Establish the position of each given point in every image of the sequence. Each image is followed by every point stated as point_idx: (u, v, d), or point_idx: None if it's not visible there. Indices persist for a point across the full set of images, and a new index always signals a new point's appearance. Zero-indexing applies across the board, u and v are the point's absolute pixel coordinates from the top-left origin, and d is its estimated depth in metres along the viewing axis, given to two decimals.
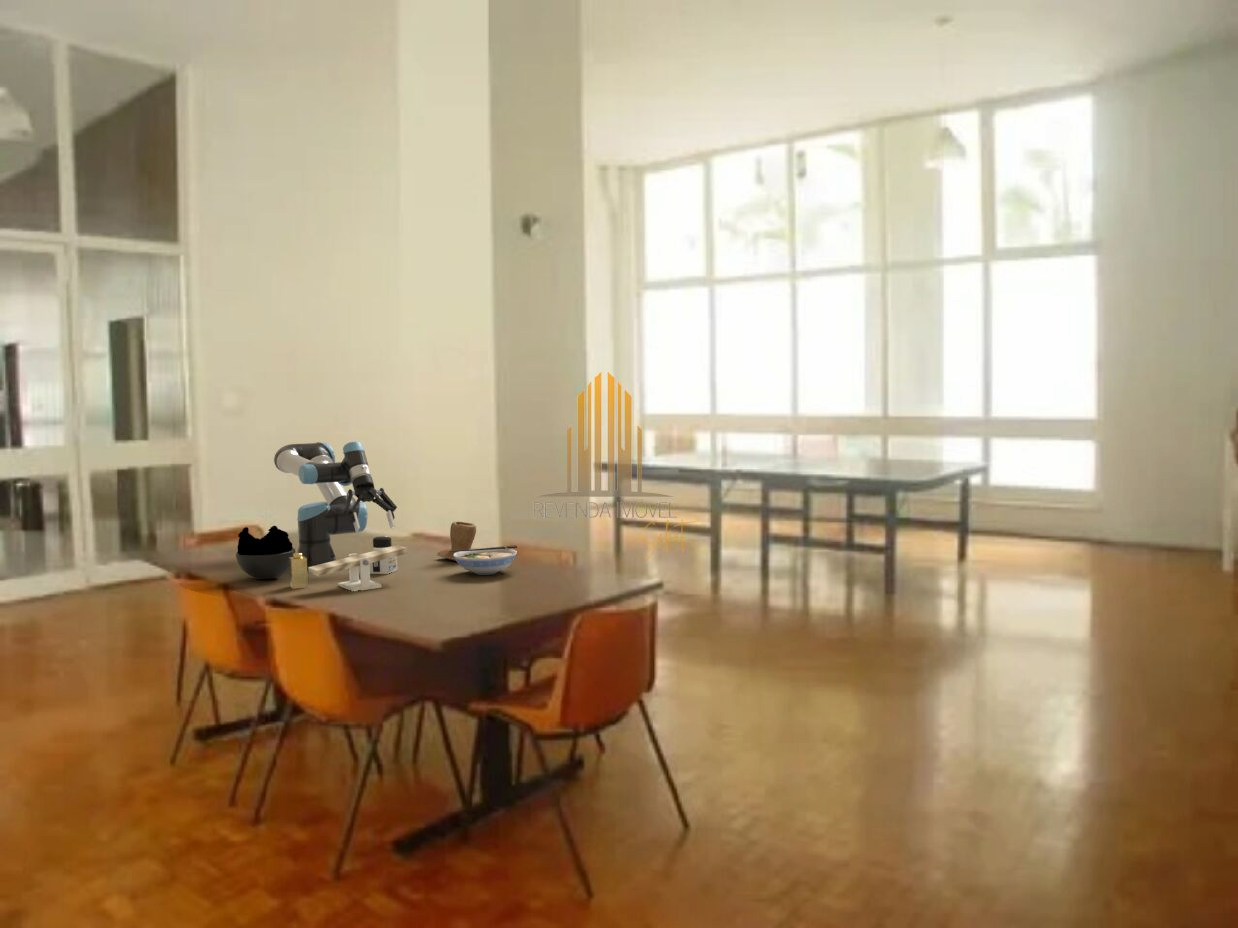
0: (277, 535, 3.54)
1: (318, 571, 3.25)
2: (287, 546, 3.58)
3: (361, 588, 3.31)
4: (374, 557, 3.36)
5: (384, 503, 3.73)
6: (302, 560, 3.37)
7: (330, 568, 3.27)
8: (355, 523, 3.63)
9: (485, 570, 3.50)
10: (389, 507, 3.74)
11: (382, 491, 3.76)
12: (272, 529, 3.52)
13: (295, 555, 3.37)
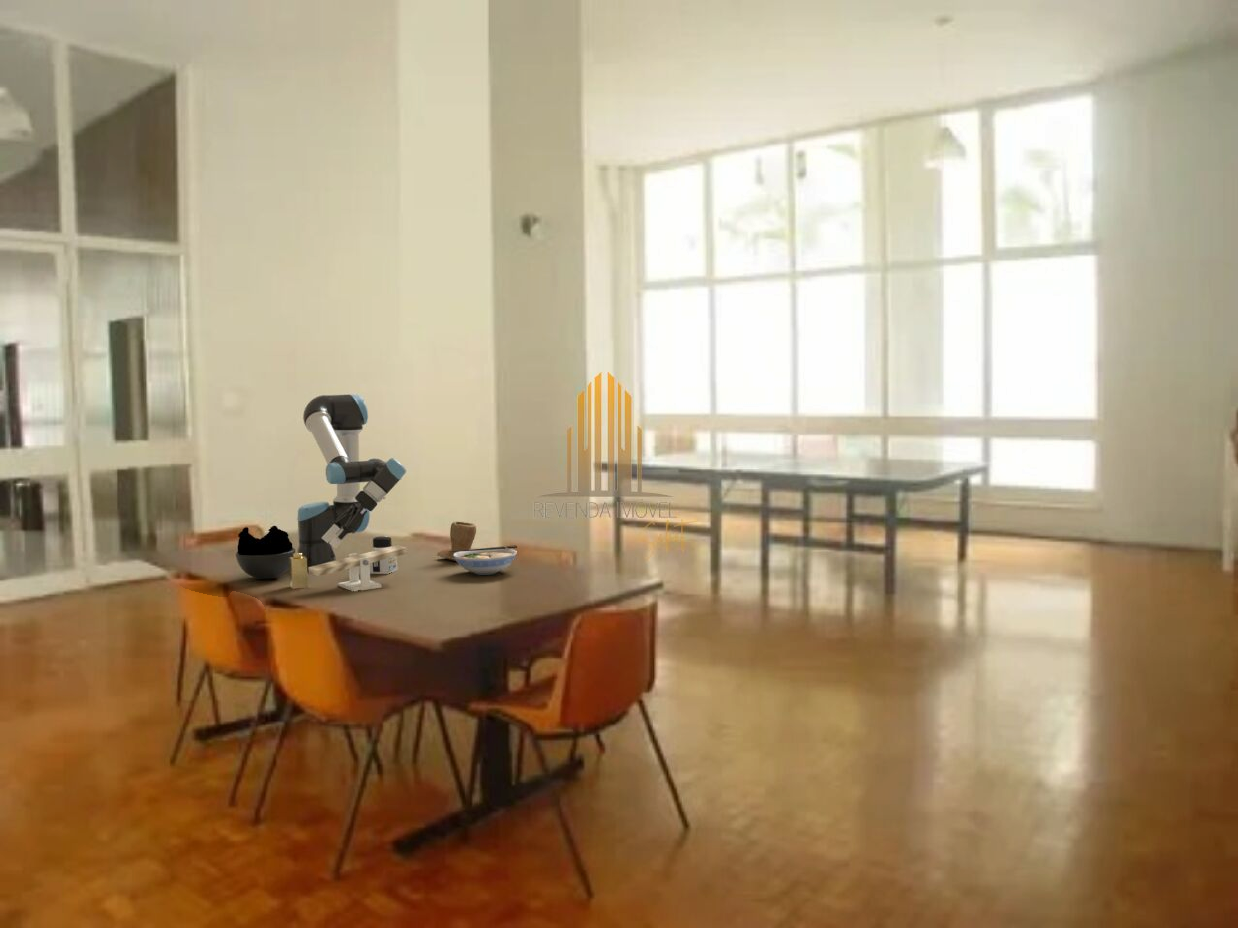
0: (277, 535, 3.54)
1: (318, 571, 3.25)
2: (287, 546, 3.58)
3: (361, 588, 3.31)
4: (374, 557, 3.36)
5: None
6: (302, 560, 3.37)
7: (330, 568, 3.27)
8: (337, 540, 3.37)
9: (485, 570, 3.50)
10: (342, 525, 3.52)
11: None
12: (272, 529, 3.52)
13: (295, 555, 3.37)
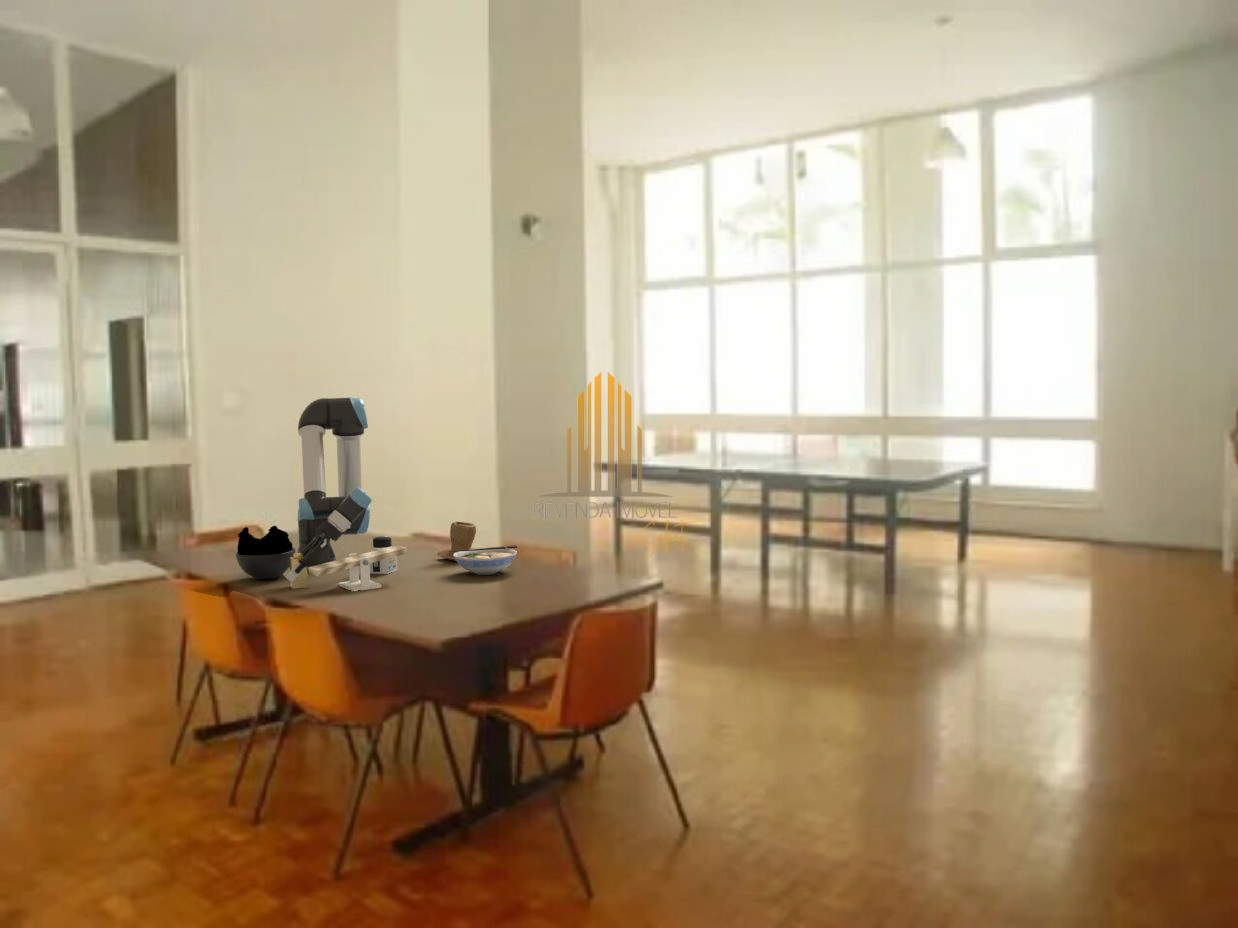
0: (277, 535, 3.54)
1: (318, 571, 3.25)
2: (287, 546, 3.58)
3: (361, 588, 3.31)
4: (374, 557, 3.36)
5: None
6: None
7: (330, 568, 3.27)
8: (294, 574, 3.36)
9: (485, 570, 3.50)
10: None
11: None
12: (272, 529, 3.52)
13: (295, 555, 3.37)
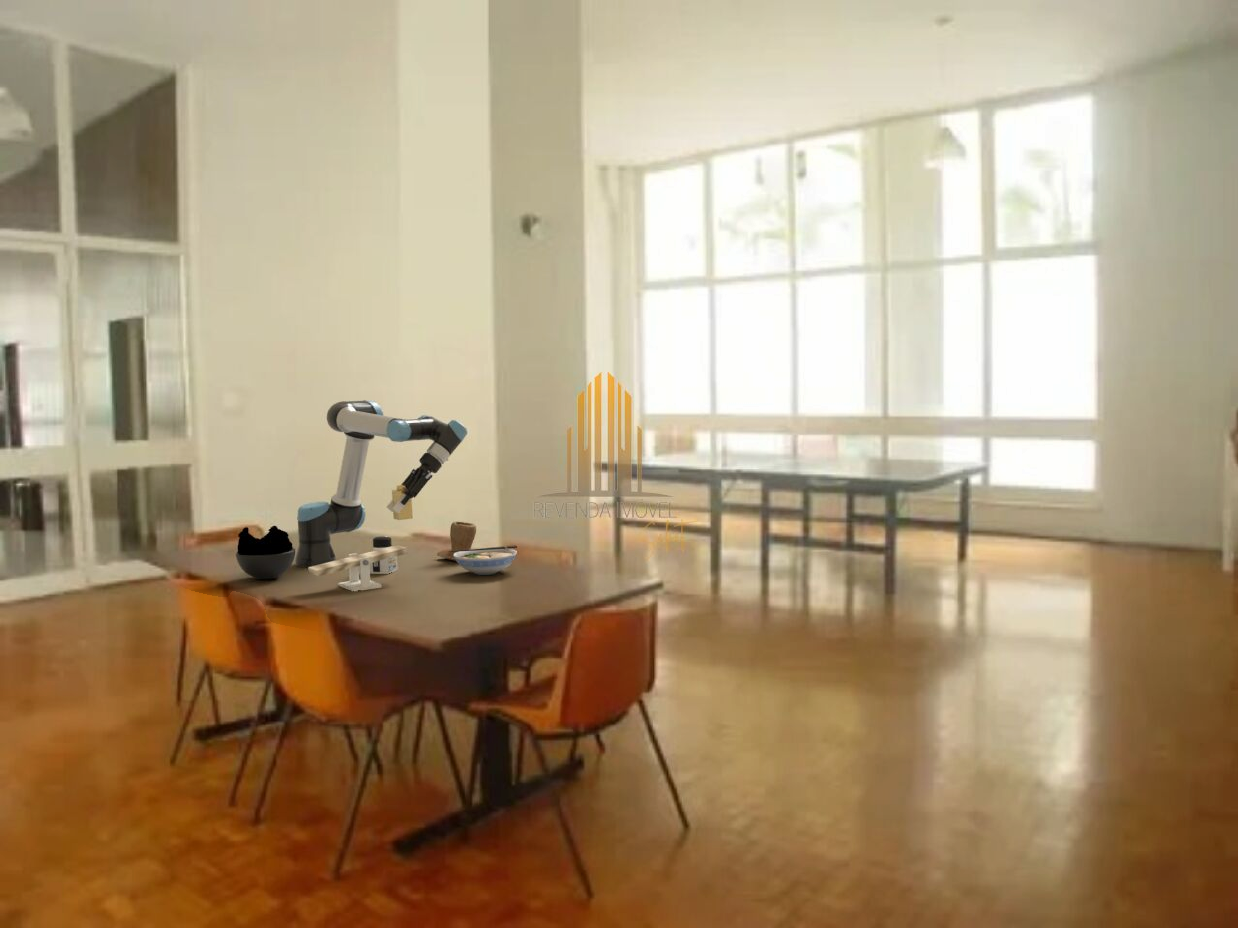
0: (277, 535, 3.54)
1: (318, 571, 3.25)
2: (287, 546, 3.58)
3: (361, 588, 3.31)
4: (374, 557, 3.36)
5: None
6: None
7: (330, 568, 3.27)
8: (400, 505, 3.41)
9: (485, 570, 3.50)
10: None
11: None
12: (272, 529, 3.52)
13: (399, 487, 3.42)
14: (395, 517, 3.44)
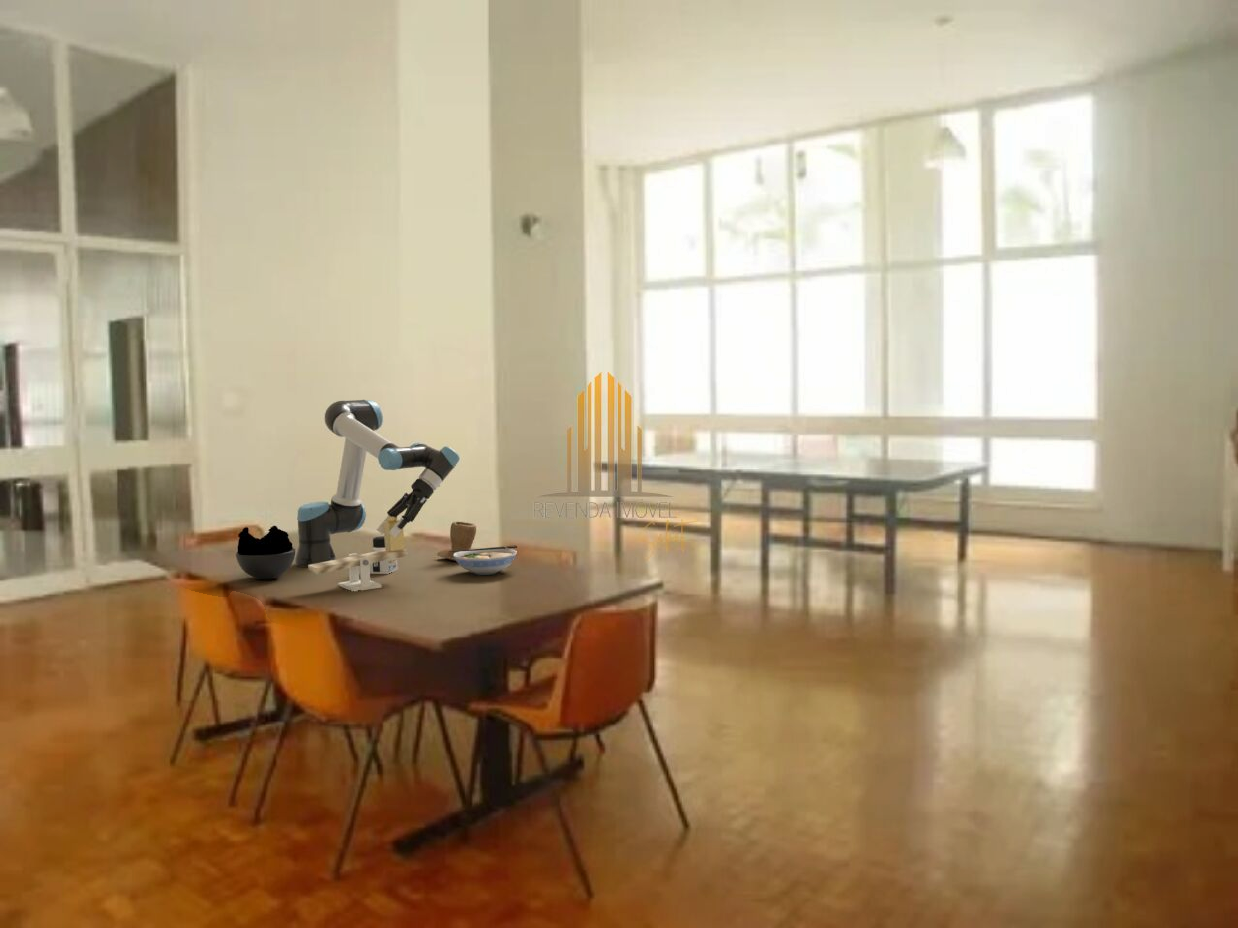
0: (277, 535, 3.54)
1: (318, 569, 3.25)
2: (287, 546, 3.58)
3: (361, 588, 3.31)
4: (374, 558, 3.36)
5: None
6: None
7: (330, 566, 3.27)
8: (397, 530, 3.39)
9: (485, 570, 3.50)
10: None
11: None
12: (272, 529, 3.52)
13: (391, 518, 3.42)
14: (387, 548, 3.44)
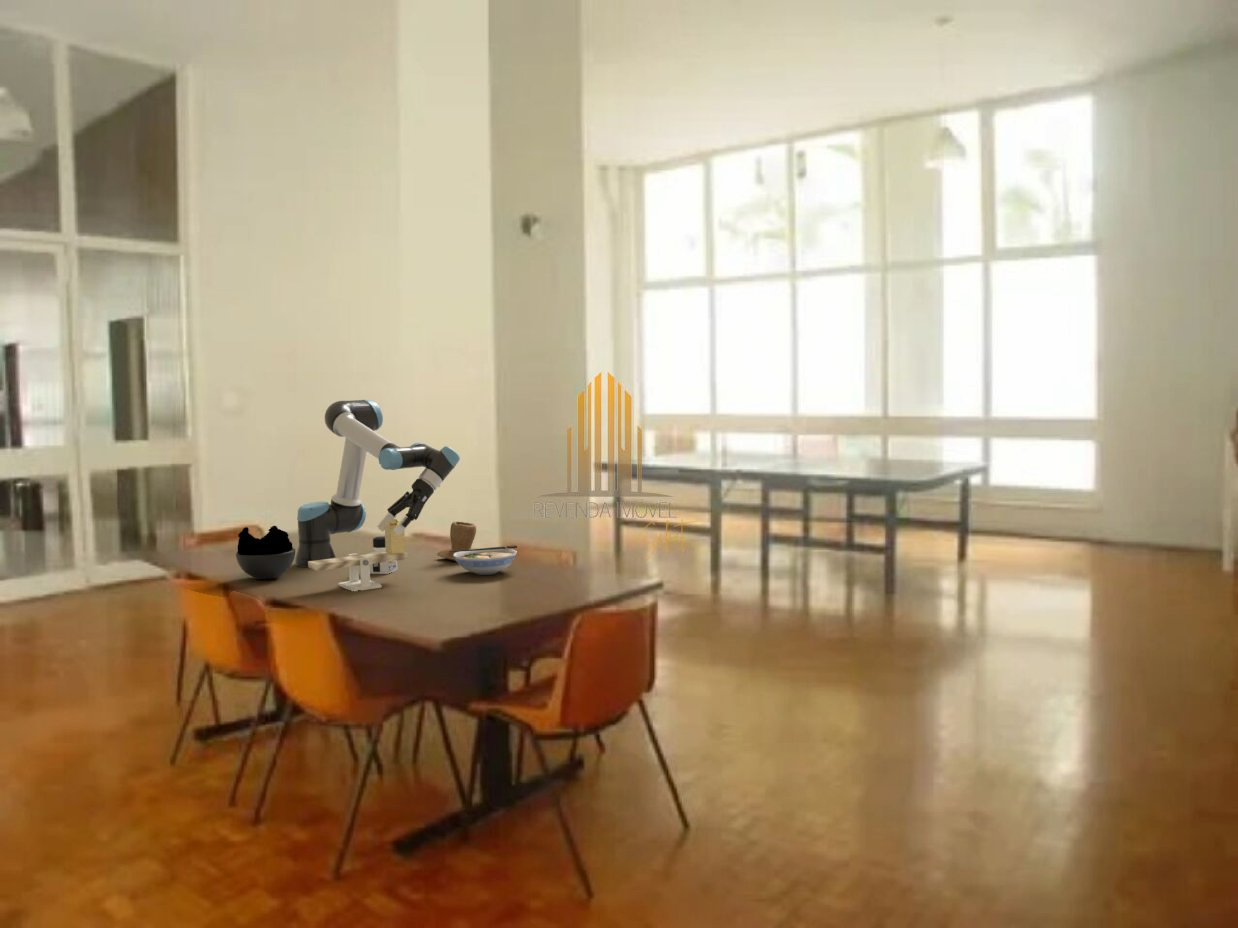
0: (277, 535, 3.54)
1: (318, 565, 3.25)
2: (287, 546, 3.58)
3: (361, 588, 3.31)
4: (374, 558, 3.36)
5: None
6: None
7: (330, 564, 3.27)
8: (401, 528, 3.38)
9: (485, 570, 3.50)
10: None
11: None
12: (272, 529, 3.52)
13: (393, 521, 3.43)
14: (387, 551, 3.44)
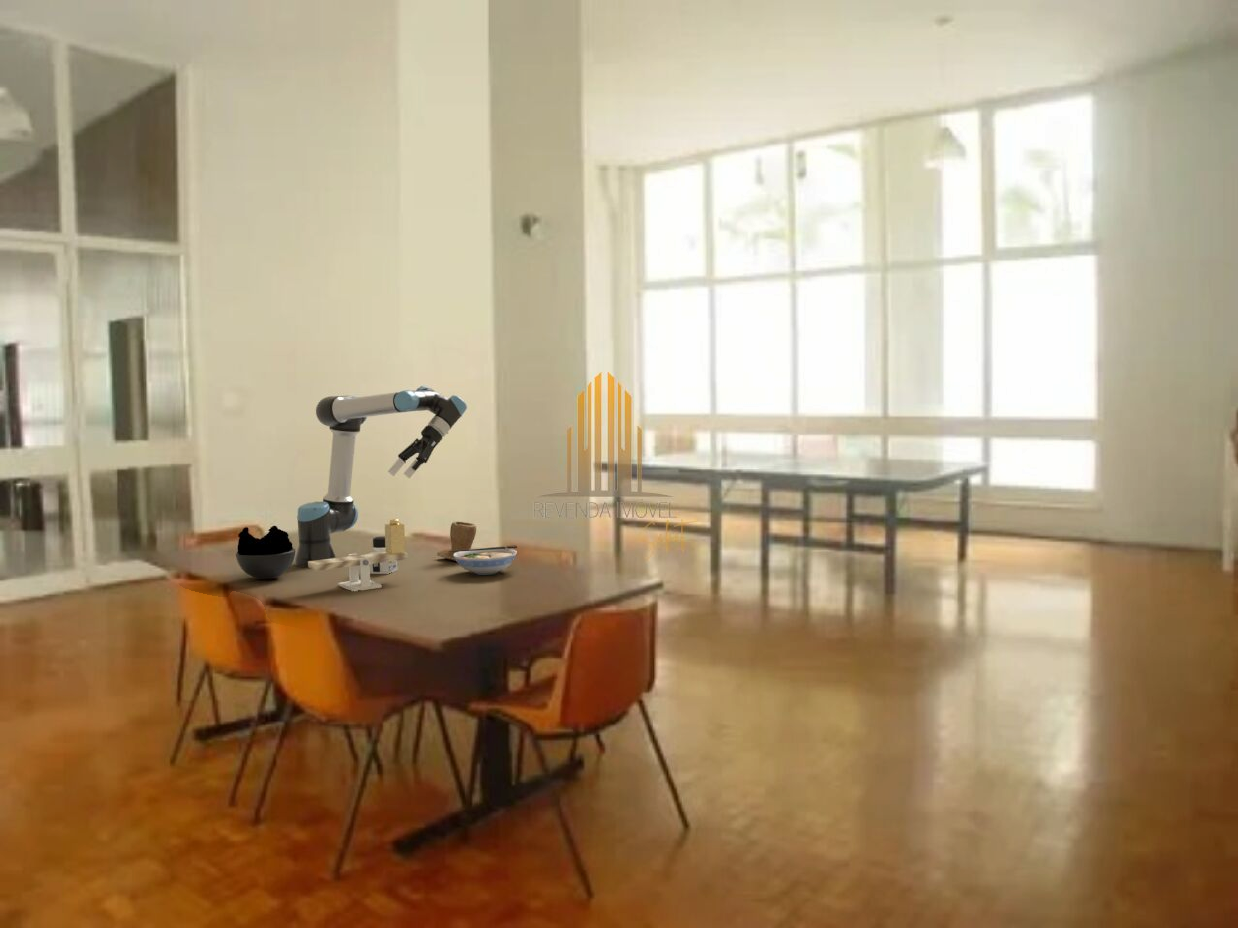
0: (277, 535, 3.54)
1: (318, 565, 3.25)
2: (287, 546, 3.58)
3: (361, 588, 3.31)
4: (374, 558, 3.36)
5: None
6: (400, 526, 3.43)
7: (330, 564, 3.27)
8: (411, 471, 3.54)
9: (485, 570, 3.50)
10: None
11: None
12: (272, 529, 3.52)
13: (393, 521, 3.43)
14: (387, 551, 3.44)
